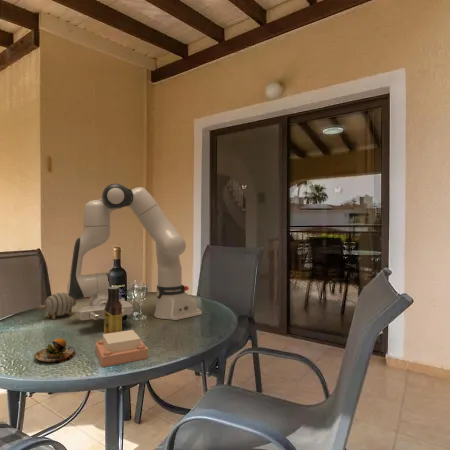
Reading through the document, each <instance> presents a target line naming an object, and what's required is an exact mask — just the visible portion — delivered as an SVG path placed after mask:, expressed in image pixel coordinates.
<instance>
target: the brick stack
mask: <svg viewBox="0 0 450 450" xmlns="http://www.w3.org/2000/svg"><path fill="white" fill-rule="evenodd" d="M94 344H95V346H94V347H95V353H96V356H97V359H98V360H99V364H100V365H101V368H107V367H111V366H115V365H121V364H126V363H131V362H134V361H135V362H136V361H142V360H146V359H148V358H149V348H148V347H147V346H146V345H145V343H144V342H143V341H142V340H141V337H139V335H138V334H137V333H136V332H135V330H134V329H130V330H129V329H128V330H122V332H115V333H108V334H104V333H103V334H102V339H98V341H95V343H94Z"/></svg>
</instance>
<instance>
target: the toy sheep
mask: <svg viewBox="0 0 450 450" xmlns="http://www.w3.org/2000/svg"><path fill="white" fill-rule="evenodd" d="M76 304H77V300H76V299H74V298H72V297H70V296H69V295H68V292H57V293H53V294H52V295H50V296H48V297H47V298H46V300H45V301H44V304H43V305H42V304H41V305H39V306H38V309H39V310H43V309H44V310H45V312H47V318H48V319H50V318H51V317H52V318H51V319H52V320H56V317H58V316H59V317H62V316H64V315H67V314H68V316H69V317H71V316H72V315H73V313H72V312H73V311H72V310H73V307H75V305H76Z"/></svg>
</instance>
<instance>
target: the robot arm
mask: <svg viewBox="0 0 450 450" xmlns="http://www.w3.org/2000/svg"><path fill="white" fill-rule="evenodd" d="M125 207H128V208H129V209H131V211H132V212H133V214H134V215H135V216H136V218H137V219H138V221H139V222H140V223H141V226H142V227H143V228H144V229H145V231H146V232H147V233H148V234H149V236H150V237H151V238H152V240H153V241H154V242H155V248H156V249H155V250H156V252H155V253H156V254H155V255H156V263H157V285H156V298H157V299H156V306H155V311H154V314H153V315H154V317H155V318H158V319H163V320H172V321H178V320H184V319H186V318H191V317H197V316H200V315H203V311H202V310H201V309H200V308H199V307H198V304H197V301H196V300H195V299H194V298H193V297H192V296H191V295H189V294H188V293H187V292H188V291H189V289H190V288H189V286H187V285H183V284H182V274H183V273H182V265H181V260H180V256H181V255H182V254H183V253H184V252H185V250H186V248H187V247H186V246H187V244H186V240H185V238H184V237H183V236H182V235H181V233H180V232H179V231H178V230H177V229H176V227H175V226H174V225H173V224H172V222H171V221H170V220H169V219H168V218H167V215H165V213H164V211H163V210H162V209H161V206H159V204H158V202H157V201H156V200H155V198H154V197H153V196H152V195H151V193H150V192H149V191H147V189H146V188H145V187H141V186H139V187H135V188H133V189H130V188H128V187H126V186H124V185H122V184H120V183H110V184H108V185H107V186H106V187H105V188H104V190H103V191H102V195H101V197H100V198H99V199H93V200H90V201H88V202H87V203H85V205H84V210H83V219H82V220H83V221H82V224H83V225H82V227H83V230H82V232H81V235H80V237H78V238H77V239H76V240H75V241H74V242H75V243H74V246H73V247H74V248H73V251H72V258H71V267H70V274H69V279H68V282H67V288H66V289H67V293H68V295H69V296H70V297H72V298H74V299H76V301H78V300H81V299H85V298H89V301H88V302H89V306H82V307H80V309H78V310H77V312H76V313H77V315H79V321H87V320H95V321H97V320H104V309H105V306H106V303H107V300H108V288H109V287H110V281H108V275H110V273H108V272H99V273H98V272H97V273H90V274H82V267H83V259H84V256H85V254H87V253H88V252H89V251H91V250H93V249H96V248H97V247H100V246H103V245H104V244H105V243H106V242H107V241H108V240H109V239H110V236H111V214H112V212H113V211H115V210H120V209H122V208H125ZM186 291H187V292H186ZM119 301H120V302H121V304H122V317H124V316H127V315H132V314H133V305H132V303H131V302H129V301H128V300H126V299H125V298H123V297H122V298H121V297H119Z"/></svg>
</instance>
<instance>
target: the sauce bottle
mask: <svg viewBox="0 0 450 450" xmlns="http://www.w3.org/2000/svg"><path fill="white" fill-rule="evenodd" d="M119 298H120V286H115V285H114V286H113V287H109V288H108V300H107V303H106V306H105V309H104V319H103V334H108V333H115V332H122V331H123V330H122V329H123V316H122V304H121V302H120V301H119Z"/></svg>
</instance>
